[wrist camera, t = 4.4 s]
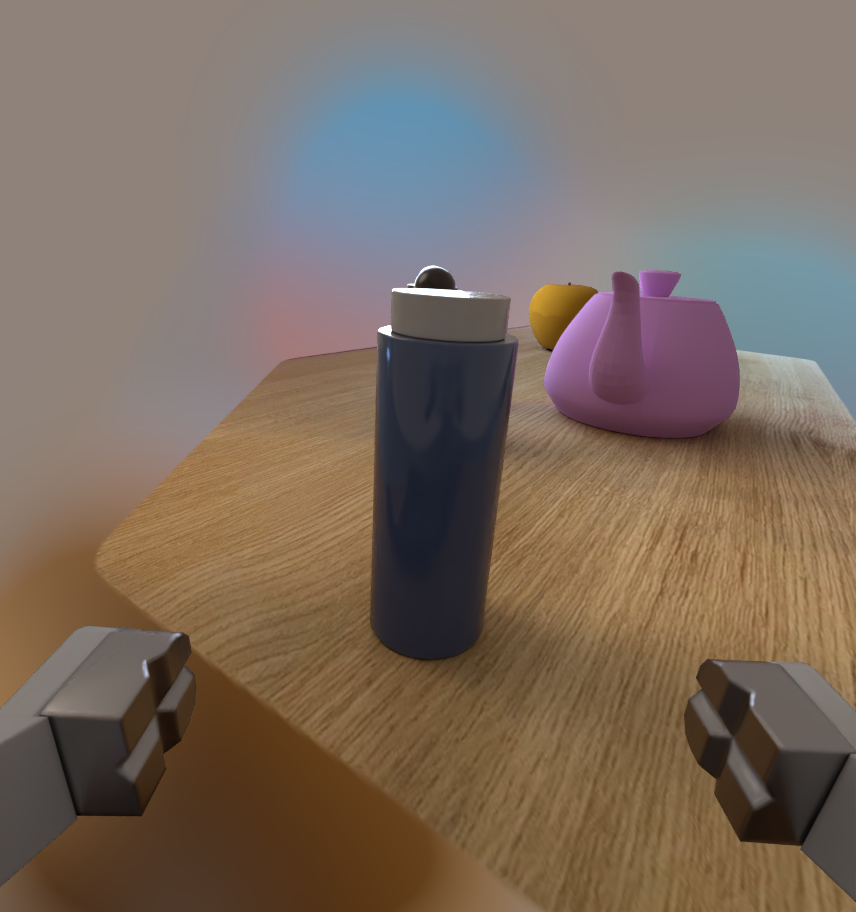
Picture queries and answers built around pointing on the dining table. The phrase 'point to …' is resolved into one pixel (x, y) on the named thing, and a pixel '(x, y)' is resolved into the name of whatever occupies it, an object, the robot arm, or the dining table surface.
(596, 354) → the teapot
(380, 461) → the blue shaker
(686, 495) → the dining table surface
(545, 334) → the apple
